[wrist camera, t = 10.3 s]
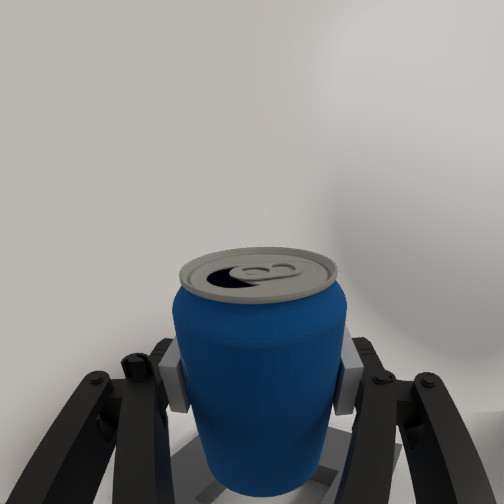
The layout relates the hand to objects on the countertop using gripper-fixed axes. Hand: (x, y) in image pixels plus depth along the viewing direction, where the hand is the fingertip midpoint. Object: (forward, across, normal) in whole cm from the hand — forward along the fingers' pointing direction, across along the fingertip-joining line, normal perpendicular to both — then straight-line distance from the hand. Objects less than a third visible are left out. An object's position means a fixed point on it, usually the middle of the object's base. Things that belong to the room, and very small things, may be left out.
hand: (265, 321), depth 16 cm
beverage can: (-5, 0, -7) cm, 9 cm away
